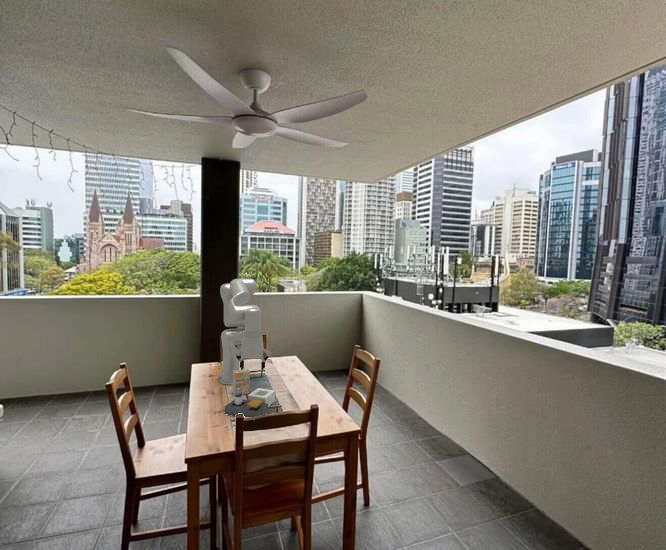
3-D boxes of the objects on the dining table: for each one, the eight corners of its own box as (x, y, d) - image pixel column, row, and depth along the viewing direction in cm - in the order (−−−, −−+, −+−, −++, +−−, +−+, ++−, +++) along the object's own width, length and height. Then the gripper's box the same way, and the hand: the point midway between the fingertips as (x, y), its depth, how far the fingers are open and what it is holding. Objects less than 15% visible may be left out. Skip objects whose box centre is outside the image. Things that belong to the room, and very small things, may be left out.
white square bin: (247, 406, 170) (247, 395, 170) (258, 398, 180) (258, 387, 180) (265, 410, 167) (265, 398, 167) (274, 401, 177) (275, 390, 177)
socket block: (224, 414, 162) (224, 406, 161) (236, 405, 171) (236, 398, 171) (257, 421, 156) (257, 412, 156) (268, 411, 166) (268, 403, 166)
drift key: (247, 413, 161) (247, 403, 160) (253, 409, 165) (253, 399, 165) (256, 415, 159) (256, 405, 159) (262, 410, 164) (262, 400, 164)
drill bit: (233, 412, 164) (233, 388, 163) (237, 409, 167) (237, 385, 167) (239, 413, 163) (239, 389, 162) (243, 410, 166) (243, 386, 166)
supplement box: (234, 397, 182) (234, 373, 181) (232, 393, 186) (232, 370, 185) (249, 394, 186) (249, 370, 185) (247, 390, 190) (247, 368, 189)
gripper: (232, 335, 156) (232, 371, 158) (269, 336, 157) (269, 372, 158) (236, 331, 164) (236, 366, 165) (272, 332, 164) (271, 366, 166)
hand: (252, 369), depth 162 cm, fingers open, 9 cm apart
